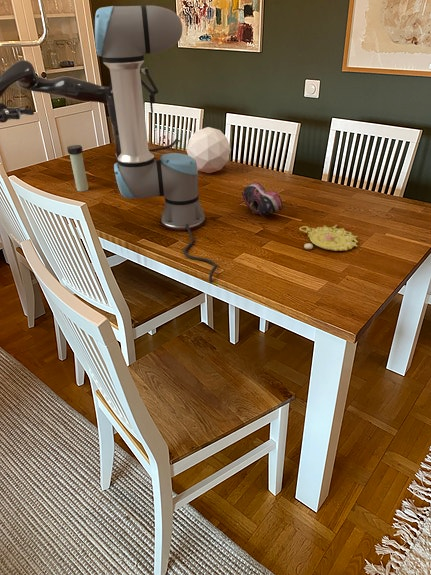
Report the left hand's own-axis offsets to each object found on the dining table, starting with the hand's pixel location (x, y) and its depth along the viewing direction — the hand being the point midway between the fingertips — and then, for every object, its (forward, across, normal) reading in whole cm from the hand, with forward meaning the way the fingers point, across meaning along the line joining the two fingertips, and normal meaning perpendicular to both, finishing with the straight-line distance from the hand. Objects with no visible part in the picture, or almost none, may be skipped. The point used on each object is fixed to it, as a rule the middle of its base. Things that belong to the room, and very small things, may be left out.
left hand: (26, 114), depth 177 cm
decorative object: (+125, +19, -29) cm, 129 cm away
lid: (+20, 0, -12) cm, 23 cm away
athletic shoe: (+97, +3, -29) cm, 101 cm away
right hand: (+40, -18, -1) cm, 43 cm away
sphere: (+64, -36, -29) cm, 79 cm away
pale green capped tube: (+20, 0, -30) cm, 36 cm away
